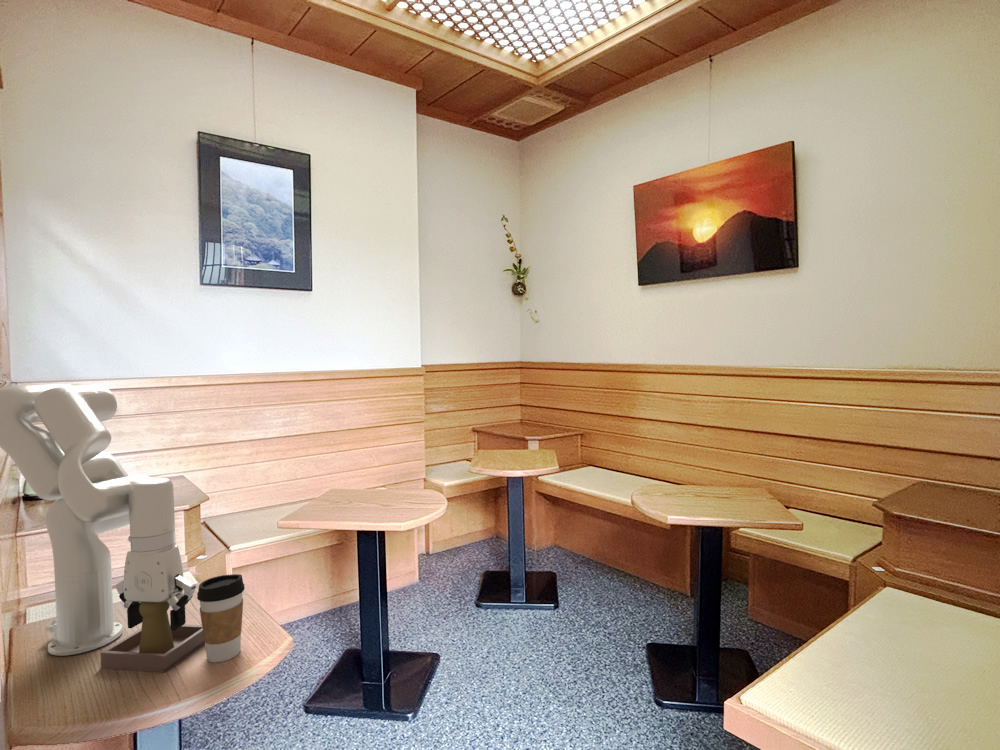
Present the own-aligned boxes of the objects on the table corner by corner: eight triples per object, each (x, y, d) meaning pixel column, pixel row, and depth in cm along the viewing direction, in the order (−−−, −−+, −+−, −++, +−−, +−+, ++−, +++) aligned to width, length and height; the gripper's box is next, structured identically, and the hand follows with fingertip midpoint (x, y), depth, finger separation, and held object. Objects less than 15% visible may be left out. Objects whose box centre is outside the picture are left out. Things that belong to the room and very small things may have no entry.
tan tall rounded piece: (169, 640, 110) (167, 588, 110) (178, 650, 106) (175, 596, 106) (135, 652, 106) (132, 598, 106) (142, 663, 102) (140, 606, 102)
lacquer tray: (101, 668, 102) (100, 652, 102) (151, 636, 113) (151, 622, 113) (165, 672, 99) (164, 656, 99) (210, 639, 111) (209, 625, 111)
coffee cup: (227, 667, 100) (224, 589, 100) (189, 664, 102) (186, 587, 102) (256, 644, 108) (253, 572, 108) (220, 642, 110) (217, 570, 110)
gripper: (99, 546, 103) (102, 633, 103) (177, 548, 101) (181, 637, 101) (131, 534, 111) (135, 615, 111) (205, 535, 108) (208, 619, 108)
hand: (157, 626), depth 106 cm, fingers open, 9 cm apart
